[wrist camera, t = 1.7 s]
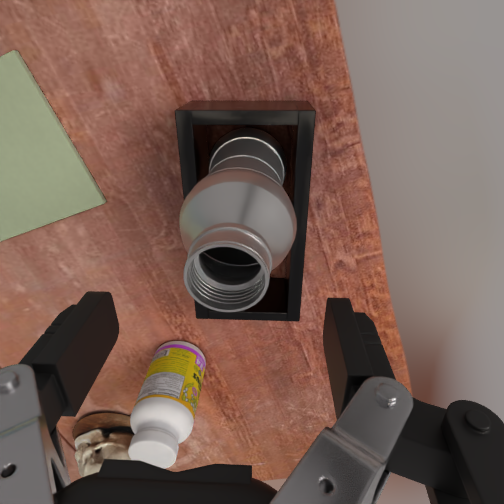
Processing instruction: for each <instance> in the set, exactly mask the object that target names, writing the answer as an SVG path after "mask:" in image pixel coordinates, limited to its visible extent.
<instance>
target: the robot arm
mask: <svg viewBox="0 0 504 504" xmlns="http://www.w3.org/2000/svg"><path fill="white" fill-rule="evenodd" d="M118 334H119V323H118V319H117V314H116V310H115V306H114V302H113V298H112V295H111V293H110V292H92V291H89V292H87V293H86V294H85V295H84V296H83V297H82V299H81V300H80V301H79V302H78V304H77V305H71V306H70V307H68V308H67V309H65V310H64V311H63V312H61V313H60V314H59V315H58V316H57V317H56V319H55V320H54V321H53V322H52V323H51V326H49V327H48V328H47V330H46V331H45V333H44V334H42V336H41V337H40V338H39V339H38V341H37V342H36V343H35V344H34V345H33V347H32V348H31V349H30V350H29V351H28V353H27V354H26V355H25V356H24V358H23V359H22V360H21V361H20V362H19V364H16V365H11V366H7V367H5V368H2V369H0V504H376V503H377V501H378V499H379V496H380V495H381V492H382V490H383V488H384V486H385V484H386V481H387V480H388V478H389V476H390V474H391V472H392V473H395V474H398V475H400V476H403V477H406V478H408V479H411V480H414V481H416V482H419V483H422V484H424V485H425V487H426V490H427V493H428V497H429V499H430V503H431V504H504V423H503V422H502V420H501V419H500V418H499V417H498V416H497V415H496V414H495V413H493V412H492V411H491V410H489V409H488V408H486V407H485V406H482V405H480V404H478V403H476V402H472V401H466V400H459V401H455V402H453V403H451V404H450V405H449V406H448V408H447V409H444V408H440V407H437V406H434V405H430V404H427V403H424V402H421V401H419V400H417V399H415V398H413V397H412V396H411V394H410V392H409V391H408V390H407V388H406V387H405V386H404V385H402V384H401V383H400V382H398V381H396V379H395V376H394V374H393V371H392V369H391V366H390V363H389V361H388V358H387V356H386V353H385V350H384V348H383V345H382V344H381V340H380V337H379V336H378V332H377V330H376V327H375V324H374V322H373V321H372V320H371V319H370V318H369V317H368V316H367V315H366V314H365V313H359V312H354V311H353V308H352V305H351V302H350V299H349V298H328V299H327V304H326V312H325V320H324V329H323V346H324V352H325V357H326V363H327V368H328V374H329V379H330V385H331V390H332V396H333V401H334V407H335V412H336V418H337V421H336V423H335V424H334V425H333V427H332V428H329V427H325V428H324V429H323V430H322V431H321V432H320V434H319V435H318V436H317V438H316V439H315V441H314V442H313V443H312V445H311V446H310V448H309V449H308V450H307V452H306V453H305V455H304V456H303V457H302V459H301V460H300V462H299V463H298V464H297V466H296V467H295V469H294V470H293V471H292V473H291V474H290V476H289V477H288V478H287V480H286V481H285V483H284V484H283V485H282V487H281V488H280V490H279V491H276V490H275V489H274V488H272V487H271V486H269V485H267V484H266V483H264V482H262V481H260V480H257V479H254V478H252V465H230V464H212V465H207V466H203V467H198V468H194V469H189V470H185V471H180V472H172V471H169V470H166V469H163V468H160V467H157V466H154V465H152V464H149V463H146V462H143V461H140V460H118V459H104V461H103V463H102V466H101V468H100V470H99V472H96V473H93V474H90V475H87V476H85V477H82V478H80V479H78V480H76V481H74V482H72V483H71V481H70V477H69V474H68V469H67V465H66V460H65V456H64V452H63V447H62V443H61V438H60V434H59V430H58V427H57V425H56V424H57V422H58V421H59V419H60V417H61V416H74V417H75V416H76V415H77V413H78V411H79V409H80V407H81V405H82V403H83V402H84V400H85V398H86V396H87V394H88V392H89V391H90V389H91V387H92V385H93V383H94V381H95V380H96V378H97V376H98V374H99V372H100V370H101V368H102V367H103V365H104V363H105V361H106V359H107V357H108V356H109V354H110V352H111V350H112V348H113V346H114V345H115V343H116V341H117V338H118Z"/></svg>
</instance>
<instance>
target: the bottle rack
mask: <svg viewBox="0 0 504 504" xmlns="http://www.w3.org/2000/svg"><path fill="white" fill-rule="evenodd" d="M315 114H316V111H315V109H314V108H313V107H312V105H311V104H310V103H309V102H308V101H190V102H188V103H187V104H185V105H183V106H182V107H180V108H178V109H176V110H175V119H176V128H177V138H178V147H179V157H180V167H181V176H182V186H183V195H184V200H185V198H186V196H187V195H188V194H189V193H190V191H191V190H192V189H193V188H194V186H195V185H196V184H197V183H198V182H199V181H201V180H202V179H203V178H205V177H206V176H207V175H208V174H209V158H208V142H207V127H206V125H293V130H292V151H291V171H290V191H289V199H290V201H291V203H292V206H293V208H294V212H295V216H296V223H297V230H296V235H295V240H294V242H293V244H292V246H291V249H290V250H289V252H288V254H287V256H286V273H285V279H284V278H270V279H269V285H268V288H267V290H266V293H265V295H264V296H263V297H262V299H261V300H260V301H259V302H258V303H256V304H255V305H253V306H252V307H250V308H248V309H245V310H242V311H237V312H220V311H216V310H212V309H210V308H207V307H205V306H203V305H202V304H200V303H199V302H197V301H196V300H195V299H194V301H195V311H196V318H197V319H208V318H209V319H235V320H271V321H299V320H300V307H301V294H302V281H303V268H304V256H305V243H306V230H307V217H308V204H309V191H310V179H311V166H312V153H313V140H314V127H315Z"/></svg>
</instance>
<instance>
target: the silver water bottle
mask: <svg viewBox="0 0 504 504" xmlns="http://www.w3.org/2000/svg"><path fill="white" fill-rule="evenodd" d="M286 172H287V160H286V156H285V153H284V151H283V149H282V147H281V145H280V144H279V143H278V141H277V140H276V139H275V138H273V137H272V136H271V135H269V134H268V133H266V132H264V131H262V130H259V129H256V128H240V129H236V130H233V131H231V132H229V133H227V134H225V135H224V136H223V137H221V138H220V139H219V140H218V141H217V143H216V144H215V145H214V147H213V149H212V151H211V154H210V158H209V174H208V175H207V176H206V177H205V178H203V179H202V180H201V181H199V182H198V183H197V184H196V185H195V186H194V188H193V189H192V190H191V191H190V193H189V194H188V195H187V196H186V198H185V200H184V202H183V204H182V207H181V211H180V215H179V227H180V233H181V238H182V242H183V245H184V247H185V249H186V251H187V253H188V259H187V261H186V264H185V267H184V282H185V286H186V288H187V290H188V292H189V293H190V295H191V296H192V297H193V298H194V299H195V300H196V301H197V302H199V303H200V304H202V305H203V306H205V307H207V308H210V309H212V310H216V311H220V312H237V311H242V310H245V309H248V308H250V307H252V306H253V305H255V304H256V303H258V302H259V301H260V300H261V299H262V297H263V296H264V295H265V293H266V290H267V288H268V285H269V279H270V273H271V270H273V269H275V268H276V267H277V266H278V265H279V264H280V263H281V262H282V261H283V260H284V258H285V257H286V256H287V254H288V252H289V250H290V249H291V246H292V244H293V242H294V240H295V235H296V230H297V223H296V216H295V212H294V208H293V206H292V203H291V201H290V199H289V197H288V195H287V193H286V192H285V190H284V189H283V187H282V185H283V183H284V180H285V177H286Z"/></svg>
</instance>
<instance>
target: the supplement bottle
mask: <svg viewBox="0 0 504 504" xmlns="http://www.w3.org/2000/svg"><path fill="white" fill-rule="evenodd" d="M205 367H206V361H205V357H204V355H203V353H202V352H201V350H200V349H199V348H197V347H196V346H195V345H193V344H191V343H188V342H184V341H171V342H167V343H165V344H163V345H161V346H160V347H159V348H158V349H157V351H156V352H155V355H154V357H153V359H152V362H151V364H150V367H149V370H148V372H147V375H146V377H145V380H144V382H143V385H142V388H141V390H140V393H139V395H138V398H137V400H136V403H135V405H134V408H133V411H132V413H131V417H130V424H131V428H132V430H133V432H134V434H135V435H134V436H133V438H132V440H131V443H130V446H129V449H128V454H129V457H130V458H131V460H140V461H143V462H146V463H149V464H152V465H154V466H157V467H160V468H163V469H164V468H168V467H170V466H171V465H173V464H174V462H175V460H176V457H177V453H178V449H179V447H178V444H179V443H181V442H183V441H184V440H185V439H186V438H187V437H188V436H189V435H190V433H191V431H192V428H193V424H194V419H195V414H196V409H197V405H198V400H199V395H200V391H201V386H202V381H203V377H204V372H205Z"/></svg>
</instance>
